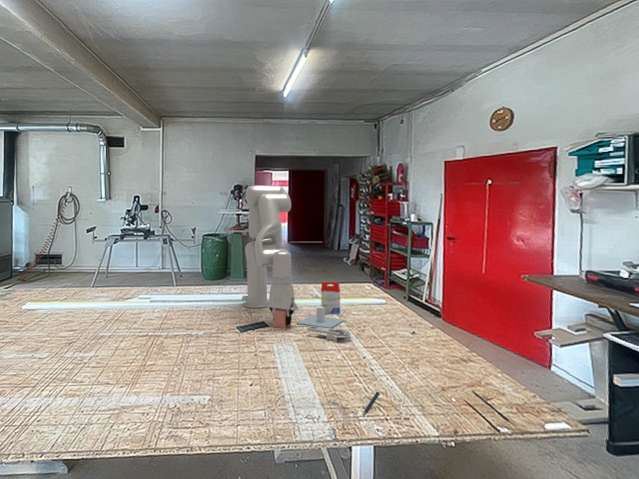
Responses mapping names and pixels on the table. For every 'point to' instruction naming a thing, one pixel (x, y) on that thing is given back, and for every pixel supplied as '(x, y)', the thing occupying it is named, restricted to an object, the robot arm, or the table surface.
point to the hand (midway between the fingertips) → (282, 323)
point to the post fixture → (320, 320)
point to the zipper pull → (333, 334)
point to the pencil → (370, 403)
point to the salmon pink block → (280, 318)
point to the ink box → (330, 297)
